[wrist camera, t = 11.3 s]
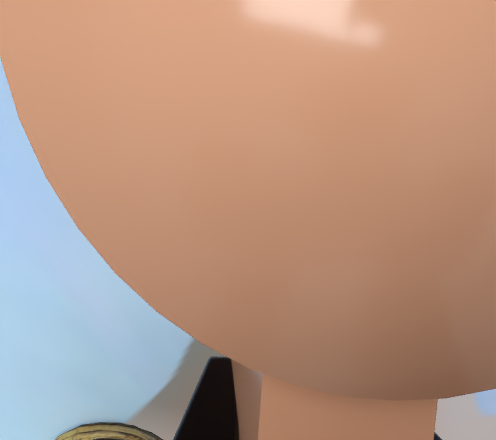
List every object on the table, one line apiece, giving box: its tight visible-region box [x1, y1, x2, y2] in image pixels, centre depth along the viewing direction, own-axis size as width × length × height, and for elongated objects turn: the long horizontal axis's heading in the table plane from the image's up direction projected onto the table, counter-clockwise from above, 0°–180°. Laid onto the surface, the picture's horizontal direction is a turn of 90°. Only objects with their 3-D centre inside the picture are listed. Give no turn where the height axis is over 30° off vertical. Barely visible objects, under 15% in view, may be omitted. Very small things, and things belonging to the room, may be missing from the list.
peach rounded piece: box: [0, 0, 496, 440], centre depth 8 cm, size 12×7×9 cm, turn 173°
